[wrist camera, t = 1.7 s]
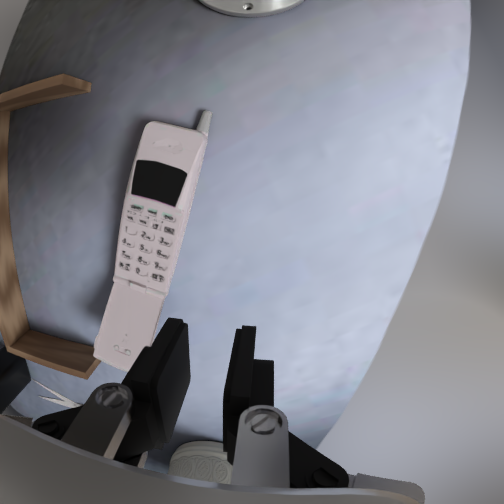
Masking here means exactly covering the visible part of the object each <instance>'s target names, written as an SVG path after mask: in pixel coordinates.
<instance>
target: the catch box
mask: <svg viewBox="0 0 504 504" xmlns="http://www.w3.org/2000/svg"><path fill="white" fill-rule="evenodd" d="M90 91H91V83H90V82H87V81H84V80H81V79H78V78H75V77H72V76H69V75H66V74H60V75H57V76H53V77H49V78H46V79H43V80H40V81H36V82H33V83H30V84H27V85H24V86H21V87H18V88H16V89H13V90H10V91H8V92H5V93H2V94H0V331H1V334H2V337H3V340H4V343H5V346H6V348H7V351H8V352H10V353H12V354H15V355H17V356H20V357H22V358H25V359H27V360H30V361H33V362H35V363H38V364H41V365H44V366H46V367H49V368H52V369H55V370H58V371H61V372H64V373H67V374H70V375H74V376H77V377H80V378H84V379H88V378H89V377H90V375H91V374H92V373H93V371H94V370H95V369H96V367H97V366H98V365H99V363H100V362H101V360H99V359H97V358H95V357H94V356H93V354H94V350H95V349H94V347H92V346H88V345H84V344H80V343H76V342H72V341H68V340H65V339H61V338H57V337H54V336H50V335H47V334H43V333H40V332H37V331H33V330H30V327H29V323H28V319H27V316H26V312H25V308H24V303H23V299H22V295H21V290H20V285H19V280H18V275H17V269H16V264H15V257H14V251H13V243H12V235H11V226H10V215H9V201H8V135H9V121H10V111H14V110H17V109H20V108H24V107H27V106H31V105H34V104H38V103H42V102H46V101H50V100H54V99H59V98H63V97H68V96H73V95H78V94H83V93H88V92H90Z"/></svg>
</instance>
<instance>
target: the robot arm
mask: <svg viewBox="0 0 504 504" xmlns="http://www.w3.org/2000/svg"><path fill="white" fill-rule="evenodd" d="M199 1H200V2H201V3H203V4H204V5H205V6H207V7H209V8H211V9H213V10H215V11H217V12H220V13H223V14H226V15H232V16H238V17H263V16H269V15H274V14H279V13H282V12H284V11H287V10H290V9H292V8H294V7H296V6H297V5H299V4H301V3H302V2H303V1H304V0H199ZM247 9H251V10H247ZM255 337H256V326H243V325H242V329H236V333H235V338H234V343H233V348H232V353H231V358H230V363H229V368H228V373H227V378H226V383H225V388H224V395H223V452H227V461H228V462H229V463H230V464H231V465H232V466H233V470H232V478H231V484H222V483H214V482H207V481H201V480H195V479H189V478H183V477H178V476H173V475H168V474H164V473H159V472H155V471H151V470H147V469H143V467H144V464H145V462H146V459H147V456H148V451H149V450H152V449H154V448H156V449H160V450H162V448H163V445H164V442H165V443H169V442H170V439H171V436H172V433H173V430H174V427H175V424H176V421H177V418H178V416H179V413H180V410H181V407H182V404H183V401H184V398H185V395H186V392H187V389H188V387H189V384H190V377H191V375H190V359H189V340H188V324H187V323H183V320H182V319H176V318H168V319H167V320H166V322H165V324H164V325H163V327H162V329H161V330H160V332H159V334H158V335H157V337H156V338H155V340H154V342H153V343H152V345H151V347H150V346H145V347H144V348H143V349H142V351H141V352H140V354H139V355H138V357H137V359H136V360H135V362H134V363H133V365H132V367H131V368H130V370H129V371H128V373H127V375H126V376H125V378H124V380H123V381H122V383H121V384H120V383H106V384H103V385H101V386H99V387H97V388H96V389H95V390H94V391H93V392H92V394H91V395H90V397H89V398H88V400H87V401H86V403H85V404H84V405H81V406H78V407H74V408H71V409H67V410H63V411H60V412H56V413H52V414H48V415H45V416H42V417H40V418H38V419H37V420H36V421H34V419H33V418H29V417H19V416H10V415H2V414H0V504H424V501H425V495H424V492H423V490H422V488H421V487H420V486H418V485H417V484H415V483H411V482H405V481H398V480H392V479H386V478H380V477H375V476H369V475H364V474H360V473H358V474H357V475H356V476H354V475H350V474H347V472H346V471H345V470H344V469H343V468H342V467H341V466H340V465H338V464H336V463H335V462H333V461H332V460H330V459H329V458H327V457H325V456H324V455H323V454H321V453H320V452H318V451H317V450H315V449H314V448H312V447H311V446H309V445H308V444H306V443H305V442H303V441H302V440H300V439H299V438H298V437H296V436H295V435H293V434H292V433H291V432H289V431H288V421H287V417H286V416H285V414H284V413H283V412H282V411H280V410H279V409H277V408H275V407H274V361H273V360H258V359H254V350H255Z"/></svg>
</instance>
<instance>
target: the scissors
mask: <svg viewBox="0 0 504 504" xmlns="http://www.w3.org/2000/svg"><path fill="white" fill-rule="evenodd" d="M34 381H35V380H34ZM35 382H37V381H35ZM37 383H38V384H40V385H41V386H43V387H44V388H45V389H47V390H48V391H50V392H52V393H53V394H55V395H56V396H58V397H59V398H61V399H62V400H64V401H61V400H56V399H51V398H45V397H42V398H44V399H47V400H49V401H52V402H55V403H58V404H61V405H64V406H67V407H71V408H74V407H78V406H81V405H82V404H78V403H75V402H73V401H71V400H69V399H68V398H66V397H64V396H62V395H60V394H59V393H57V392H55V391H53V390H51V389H49V388H48V387H46V386H44V385H42V384H41V383H39V382H37ZM39 397H40V396H39Z"/></svg>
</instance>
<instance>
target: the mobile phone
mask: <svg viewBox="0 0 504 504" xmlns="http://www.w3.org/2000/svg"><path fill="white" fill-rule="evenodd" d="M211 118H212V112H210V111H206V110H204V112H203V114H202V116H201V119H200V121H199V124H198V126H197V128H196V130H193V129H189V128H184V127H180V126H176V125H172V124H167V123H163V122H158V121H152V122H149V123H148V124H147V125H146V126H145V128H144V131H143V134H142V137H141V139H140V142H139V146H138V149H137V152H136V155H135V159H134V162H133V165H132V169H131V173H130V177H129V181H128V185H127V190H126V196H125V201H124V206H123V211H122V217H121V223H120V229H119V237H118V245H117V253H116V262H115V272H114V274H115V275H114V277H113V281H114V284H113V287H112V290H111V294H110V297H109V300H108V303H107V306H106V310H105V313H104V316H103V320H102V323H101V327H100V330H99V333H98V336H96V339H95V343H94V349H95V350H94V354H93V356H94V357H95V358H97V359H99V360H101V361H103V362H105V363H107V364H109V365H111V366H113V367H115V368H118V369H120V370H123V371H126V372H128V371H129V370H130V368H131V367H132V365H133V363H134V362H135V360H136V359H137V357H138V355H139V354H140V352H141V351H142V349H143V348H144V347H145V346H150V347H151V345H152V343H153V341H154V337H155V333H156V329H157V325H158V321H159V318H160V314H161V310H162V307H163V303H164V300H165V297H166V296H167V295H168V292H169V288H170V284H171V280H172V277H173V275H174V271H175V267H176V263H177V260H178V256H179V252H180V249H181V245H182V241H183V237H184V233H185V229H186V225H187V222H188V218H189V214H190V211H191V207H192V202H193V198H194V194H195V190H196V186H197V182H198V178H199V174H200V170H201V167H202V163H203V159H204V153H205V149H206V146H207V142H208V139H207V136H208V131H209V126H210V122H211Z"/></svg>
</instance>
